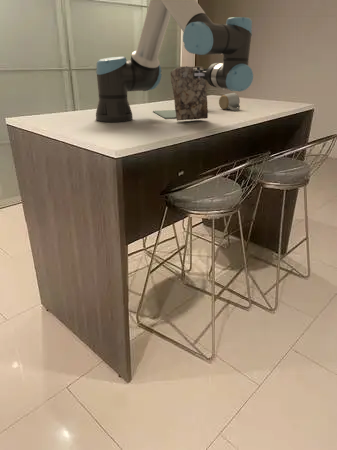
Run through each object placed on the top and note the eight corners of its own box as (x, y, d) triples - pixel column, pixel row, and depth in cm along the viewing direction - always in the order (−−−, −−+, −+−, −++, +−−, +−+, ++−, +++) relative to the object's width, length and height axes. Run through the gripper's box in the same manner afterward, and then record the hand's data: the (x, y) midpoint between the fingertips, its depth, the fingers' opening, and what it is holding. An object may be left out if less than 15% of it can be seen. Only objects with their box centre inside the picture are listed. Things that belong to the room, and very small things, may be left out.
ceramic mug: (217, 108, 174) (218, 92, 170) (228, 107, 178) (230, 92, 174) (231, 112, 166) (233, 95, 162) (243, 110, 170) (245, 94, 167)
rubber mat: (165, 118, 145) (165, 117, 144) (152, 111, 162) (152, 110, 161) (204, 117, 150) (204, 116, 149) (188, 110, 167) (188, 109, 166)
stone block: (183, 119, 133) (178, 65, 129) (174, 121, 139) (169, 69, 135) (210, 117, 139) (206, 65, 135) (200, 120, 145) (196, 70, 141)
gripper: (201, 88, 112) (178, 82, 132) (237, 87, 116) (209, 82, 136) (203, 62, 109) (179, 61, 129) (239, 63, 112) (210, 61, 132)
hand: (194, 72), depth 132 cm, fingers closed
